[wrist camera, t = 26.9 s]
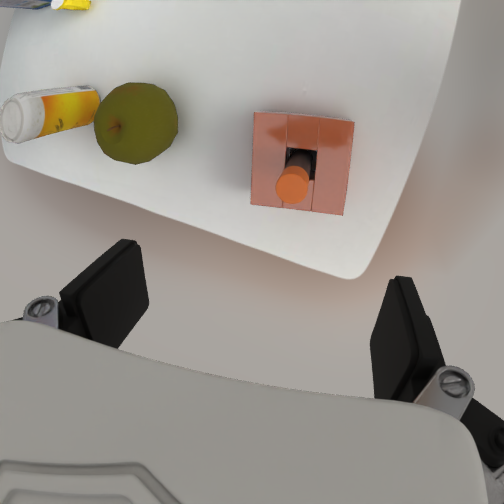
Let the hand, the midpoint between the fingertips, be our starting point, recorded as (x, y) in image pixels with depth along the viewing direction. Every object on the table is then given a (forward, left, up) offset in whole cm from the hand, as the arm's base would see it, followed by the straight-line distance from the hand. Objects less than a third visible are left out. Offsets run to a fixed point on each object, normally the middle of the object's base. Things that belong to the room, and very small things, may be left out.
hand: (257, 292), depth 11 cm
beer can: (+31, -7, -28) cm, 43 cm away
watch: (+33, -24, -28) cm, 50 cm away
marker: (0, 0, -28) cm, 28 cm away
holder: (0, 0, -28) cm, 28 cm away
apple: (+19, -4, -28) cm, 34 cm away
